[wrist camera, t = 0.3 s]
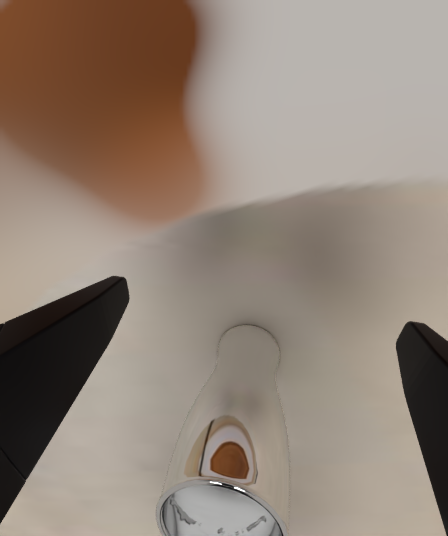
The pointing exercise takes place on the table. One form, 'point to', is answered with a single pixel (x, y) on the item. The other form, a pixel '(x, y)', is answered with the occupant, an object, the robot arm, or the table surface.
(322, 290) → the table surface
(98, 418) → the table surface
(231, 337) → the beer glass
